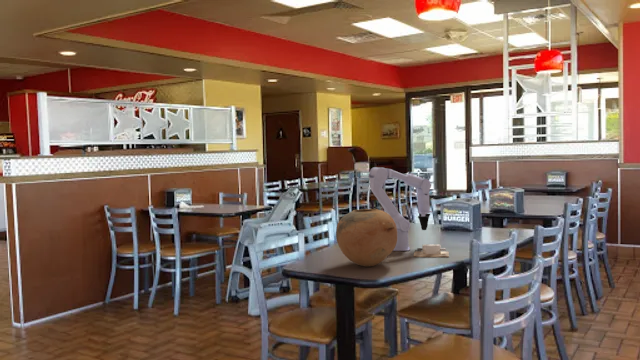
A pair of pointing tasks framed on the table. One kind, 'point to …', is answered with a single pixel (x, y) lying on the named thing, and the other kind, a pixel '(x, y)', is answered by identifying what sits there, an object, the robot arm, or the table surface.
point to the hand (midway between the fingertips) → (424, 228)
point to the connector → (431, 249)
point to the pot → (366, 236)
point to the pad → (420, 254)
